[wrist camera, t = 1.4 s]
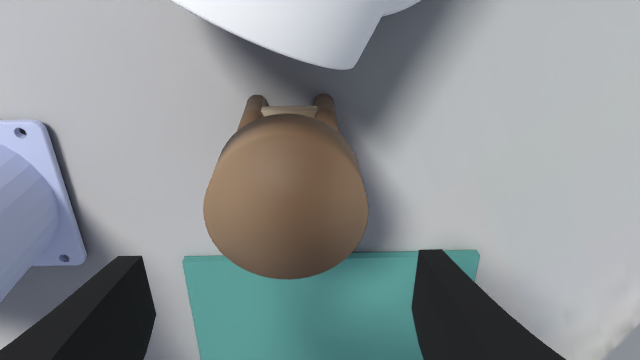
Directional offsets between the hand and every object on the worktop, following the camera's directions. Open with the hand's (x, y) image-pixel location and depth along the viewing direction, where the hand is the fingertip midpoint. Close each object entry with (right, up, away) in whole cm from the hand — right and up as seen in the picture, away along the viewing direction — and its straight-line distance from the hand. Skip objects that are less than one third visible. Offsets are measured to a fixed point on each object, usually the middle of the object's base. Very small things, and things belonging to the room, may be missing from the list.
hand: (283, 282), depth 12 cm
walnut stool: (0, +5, +9) cm, 10 cm away
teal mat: (+2, -8, +16) cm, 18 cm away
